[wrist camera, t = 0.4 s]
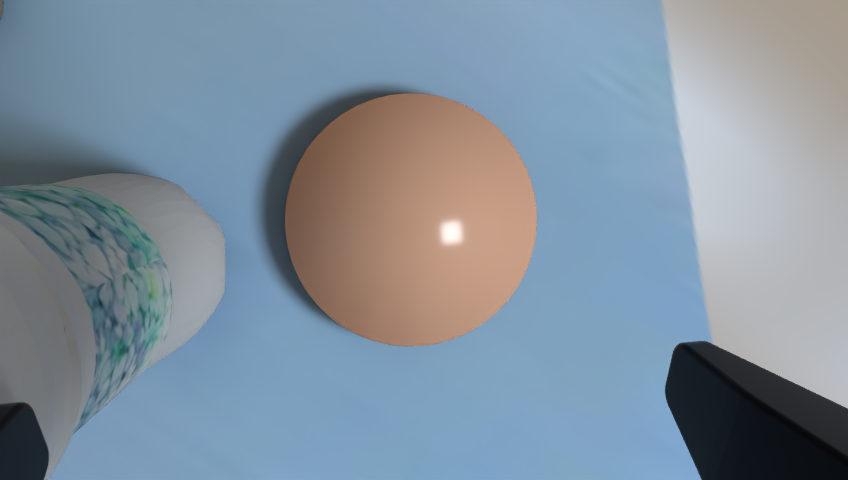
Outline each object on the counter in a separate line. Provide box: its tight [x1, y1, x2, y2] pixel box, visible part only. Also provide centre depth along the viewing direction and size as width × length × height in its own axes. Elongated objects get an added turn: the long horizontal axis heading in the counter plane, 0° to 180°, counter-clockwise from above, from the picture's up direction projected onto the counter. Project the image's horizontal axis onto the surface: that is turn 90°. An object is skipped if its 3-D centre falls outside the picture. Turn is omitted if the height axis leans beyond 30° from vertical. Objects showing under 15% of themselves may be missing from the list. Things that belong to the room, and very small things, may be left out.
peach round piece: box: [285, 93, 537, 346], centre depth 23 cm, size 10×10×1 cm
